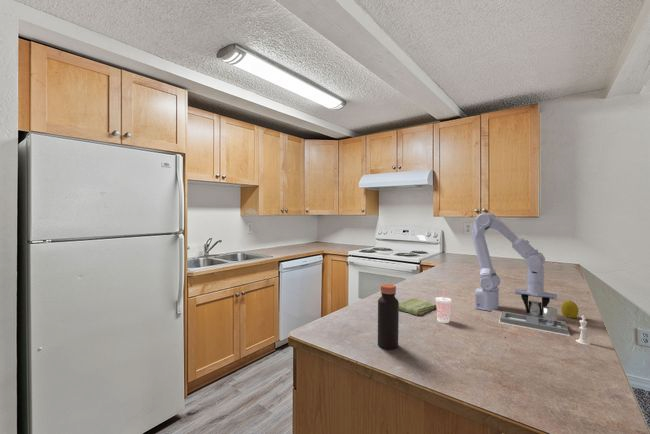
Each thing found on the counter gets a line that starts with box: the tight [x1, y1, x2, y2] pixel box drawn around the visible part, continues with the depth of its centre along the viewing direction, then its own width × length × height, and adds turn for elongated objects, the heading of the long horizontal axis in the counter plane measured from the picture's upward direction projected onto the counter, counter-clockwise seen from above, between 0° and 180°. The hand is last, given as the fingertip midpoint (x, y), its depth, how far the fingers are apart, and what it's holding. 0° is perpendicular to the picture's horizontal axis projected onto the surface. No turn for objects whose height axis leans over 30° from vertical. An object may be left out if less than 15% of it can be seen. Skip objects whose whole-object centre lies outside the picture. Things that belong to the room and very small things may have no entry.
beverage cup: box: [435, 286, 452, 324], centre depth 122 cm, size 6×6×14 cm
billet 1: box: [527, 299, 542, 318], centre depth 125 cm, size 4×4×7 cm
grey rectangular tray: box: [497, 310, 571, 337], centre depth 117 cm, size 22×13×2 cm, turn 56°
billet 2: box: [542, 306, 558, 327], centre depth 114 cm, size 4×4×7 cm
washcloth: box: [399, 297, 437, 317], centre depth 138 cm, size 13×18×3 cm
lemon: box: [560, 299, 579, 319], centre depth 124 cm, size 6×6×8 cm
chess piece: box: [575, 314, 591, 346], centre depth 101 cm, size 5×5×10 cm
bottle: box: [377, 283, 400, 350], centre depth 100 cm, size 7×7×20 cm
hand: (534, 313), depth 125 cm, fingers closed on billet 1, 4 cm apart
